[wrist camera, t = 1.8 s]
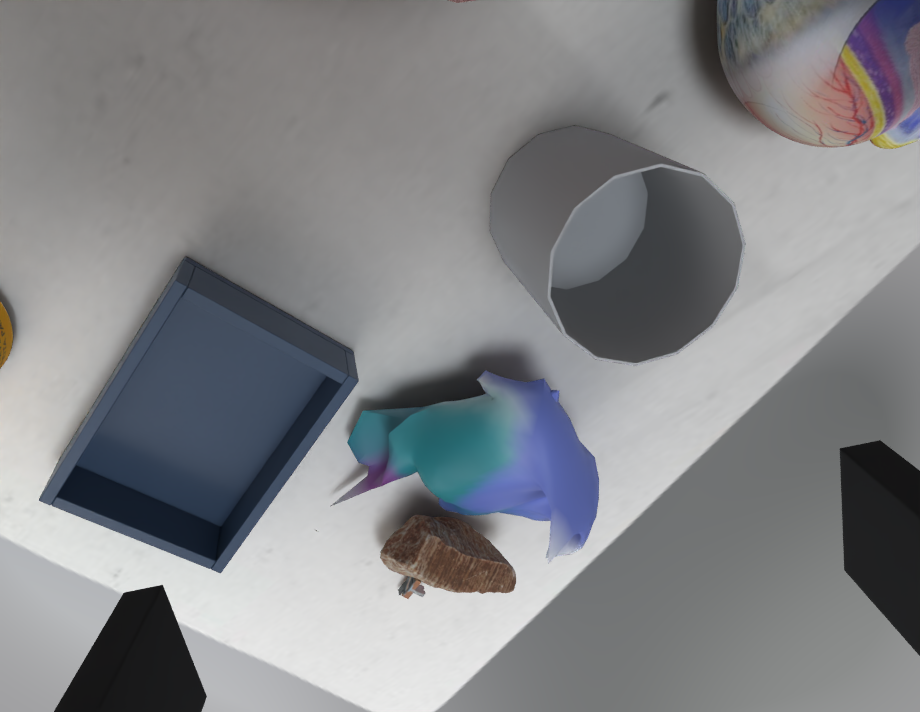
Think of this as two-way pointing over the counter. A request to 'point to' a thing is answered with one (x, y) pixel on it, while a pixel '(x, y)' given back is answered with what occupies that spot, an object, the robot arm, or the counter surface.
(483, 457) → the figurine
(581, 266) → the cup
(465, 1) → the pottery
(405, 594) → the figurine
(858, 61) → the anatomical model
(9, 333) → the beer can
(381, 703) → the counter surface
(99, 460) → the bin
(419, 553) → the stone
